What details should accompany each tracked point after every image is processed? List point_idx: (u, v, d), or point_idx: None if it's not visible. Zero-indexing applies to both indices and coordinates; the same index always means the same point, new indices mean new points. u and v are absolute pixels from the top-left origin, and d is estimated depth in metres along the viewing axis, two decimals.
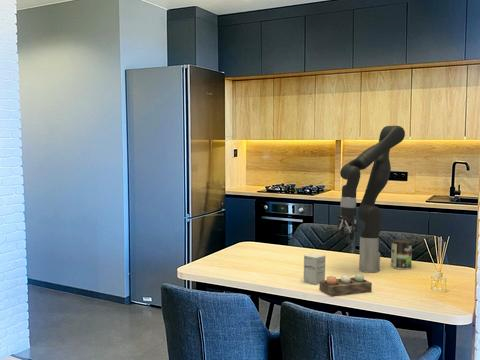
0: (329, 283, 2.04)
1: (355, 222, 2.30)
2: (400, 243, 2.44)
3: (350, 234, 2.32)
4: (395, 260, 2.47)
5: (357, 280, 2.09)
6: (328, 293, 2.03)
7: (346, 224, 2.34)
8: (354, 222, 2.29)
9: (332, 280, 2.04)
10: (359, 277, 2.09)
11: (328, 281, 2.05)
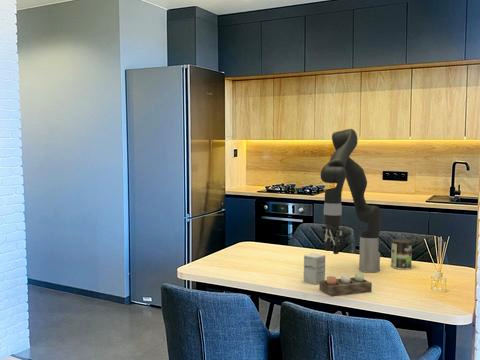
0: (329, 283, 2.04)
1: (340, 234, 1.98)
2: (400, 243, 2.44)
3: (334, 247, 2.01)
4: (395, 260, 2.47)
5: (357, 280, 2.09)
6: (328, 293, 2.03)
7: (330, 234, 2.02)
8: (339, 234, 1.98)
9: (332, 280, 2.04)
10: (359, 277, 2.09)
11: (328, 281, 2.05)
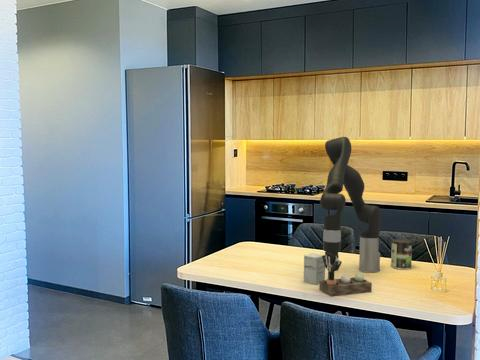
0: (329, 285, 2.04)
1: (338, 264, 2.00)
2: (400, 243, 2.44)
3: (330, 273, 2.05)
4: (395, 260, 2.47)
5: (357, 280, 2.09)
6: (328, 293, 2.03)
7: (329, 260, 2.04)
8: (337, 264, 2.00)
9: (332, 282, 2.04)
10: (359, 277, 2.09)
11: (328, 283, 2.05)
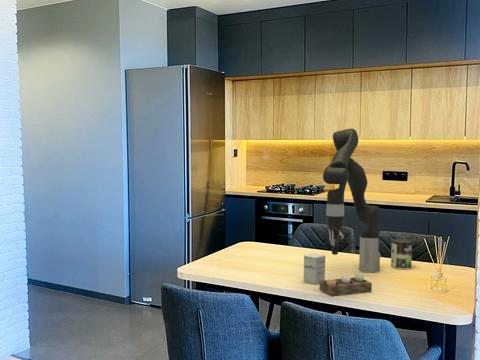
0: None
1: (342, 238, 2.00)
2: (400, 243, 2.44)
3: (333, 248, 2.04)
4: (395, 260, 2.47)
5: (357, 280, 2.09)
6: (328, 293, 2.03)
7: (332, 235, 2.04)
8: (341, 238, 2.00)
9: (332, 283, 2.04)
10: (359, 277, 2.09)
11: (328, 284, 2.05)
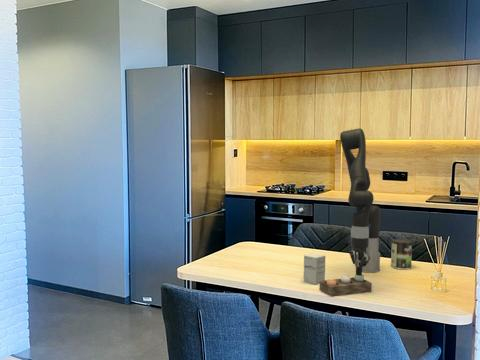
0: None
1: (366, 260, 2.05)
2: (400, 243, 2.44)
3: (358, 269, 2.09)
4: (395, 260, 2.47)
5: (357, 280, 2.09)
6: (328, 293, 2.03)
7: (356, 256, 2.09)
8: (365, 260, 2.05)
9: (332, 283, 2.04)
10: (359, 277, 2.09)
11: (328, 284, 2.05)
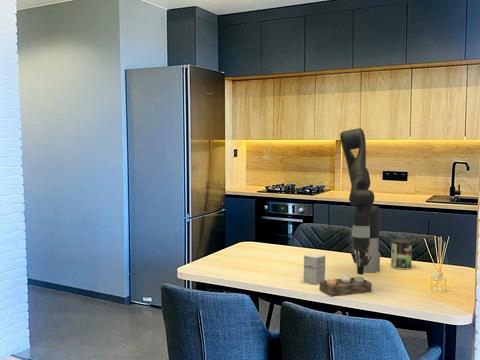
0: None
1: (368, 259, 2.05)
2: (400, 243, 2.44)
3: (359, 268, 2.09)
4: (395, 260, 2.47)
5: None
6: (328, 293, 2.03)
7: (358, 256, 2.09)
8: (367, 259, 2.05)
9: (332, 283, 2.04)
10: (359, 280, 2.09)
11: (328, 284, 2.05)
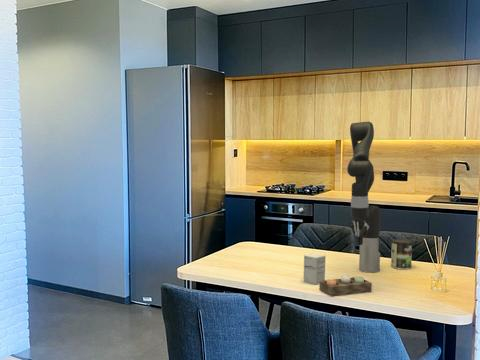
0: None
1: (367, 229, 2.07)
2: (400, 243, 2.44)
3: (358, 238, 2.12)
4: (395, 260, 2.47)
5: None
6: (328, 293, 2.03)
7: (357, 226, 2.11)
8: (366, 229, 2.07)
9: (332, 283, 2.04)
10: (359, 280, 2.09)
11: (328, 284, 2.05)
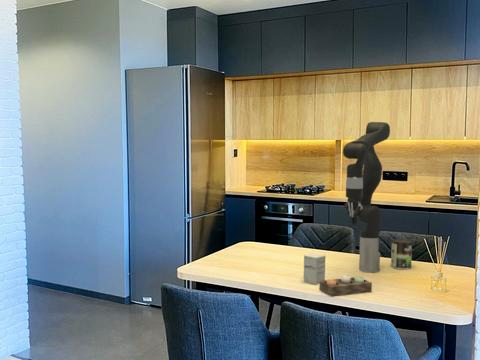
0: None
1: (361, 209, 2.14)
2: (400, 243, 2.44)
3: (352, 218, 2.18)
4: (395, 260, 2.47)
5: None
6: (328, 293, 2.03)
7: (351, 206, 2.18)
8: (360, 209, 2.13)
9: (332, 283, 2.04)
10: (359, 280, 2.09)
11: (328, 284, 2.05)
